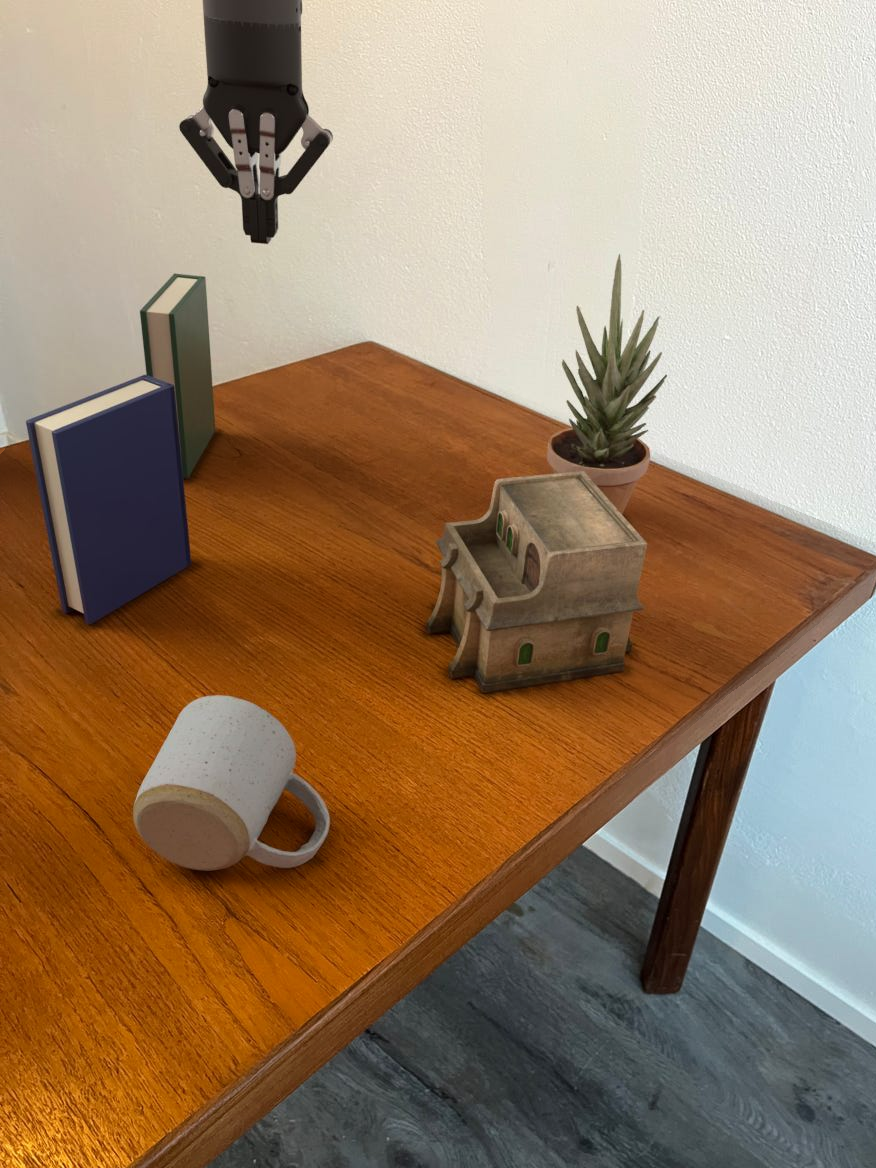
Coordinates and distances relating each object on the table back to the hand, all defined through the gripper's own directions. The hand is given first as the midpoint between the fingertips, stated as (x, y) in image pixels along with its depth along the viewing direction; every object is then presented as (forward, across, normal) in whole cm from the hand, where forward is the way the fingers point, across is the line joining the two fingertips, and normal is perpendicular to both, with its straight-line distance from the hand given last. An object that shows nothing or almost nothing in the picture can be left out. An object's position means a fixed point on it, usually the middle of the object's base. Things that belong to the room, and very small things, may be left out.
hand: (261, 241), depth 89 cm
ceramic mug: (+21, +8, -50) cm, 55 cm away
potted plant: (+21, +32, -6) cm, 39 cm away
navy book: (+13, -5, -25) cm, 29 cm away
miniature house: (+21, +26, -26) cm, 42 cm away
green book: (+13, -7, 0) cm, 15 cm away
